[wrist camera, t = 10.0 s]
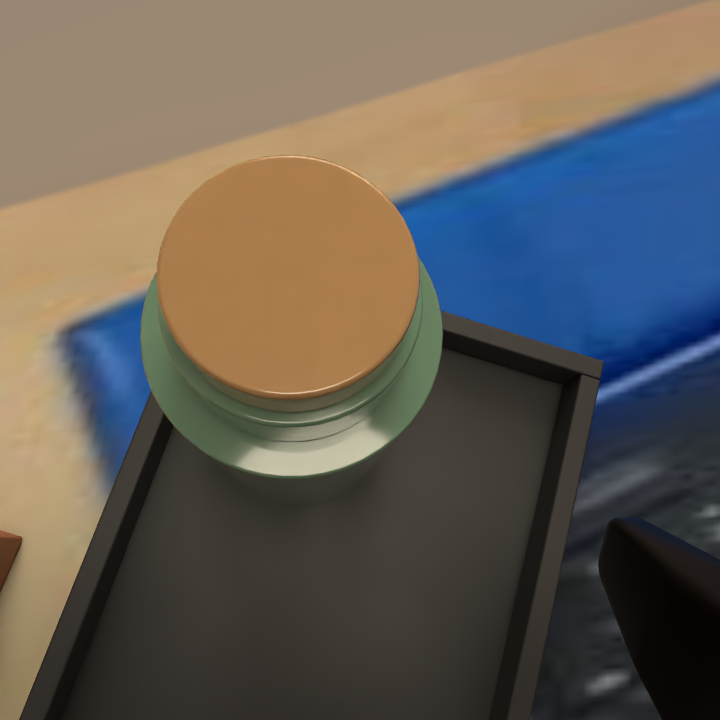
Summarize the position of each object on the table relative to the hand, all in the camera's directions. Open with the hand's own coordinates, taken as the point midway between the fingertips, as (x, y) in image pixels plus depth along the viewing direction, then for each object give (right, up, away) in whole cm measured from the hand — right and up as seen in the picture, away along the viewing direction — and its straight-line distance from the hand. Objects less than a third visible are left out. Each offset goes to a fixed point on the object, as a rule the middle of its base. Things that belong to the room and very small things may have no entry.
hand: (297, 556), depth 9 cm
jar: (-1, +1, +11) cm, 11 cm away
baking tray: (0, -3, +10) cm, 11 cm away
